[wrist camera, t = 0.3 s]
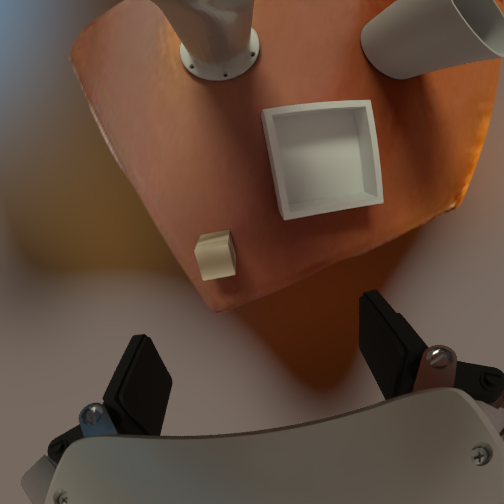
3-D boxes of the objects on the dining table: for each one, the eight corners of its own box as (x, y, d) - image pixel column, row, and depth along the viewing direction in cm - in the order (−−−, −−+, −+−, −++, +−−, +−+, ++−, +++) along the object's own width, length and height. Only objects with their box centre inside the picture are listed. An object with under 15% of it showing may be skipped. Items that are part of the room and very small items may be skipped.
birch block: (200, 235, 46) (194, 250, 39) (229, 229, 45) (227, 243, 39) (208, 262, 48) (203, 280, 41) (236, 256, 47) (235, 274, 41)
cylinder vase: (345, 40, 33) (425, -23, 10) (382, 13, 30) (460, -39, 7) (394, 92, 37) (498, 73, 14) (426, 61, 34) (519, 38, 11)
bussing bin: (260, 114, 39) (263, 109, 33) (354, 104, 38) (370, 99, 32) (278, 210, 45) (284, 220, 39) (367, 195, 44) (383, 202, 38)
